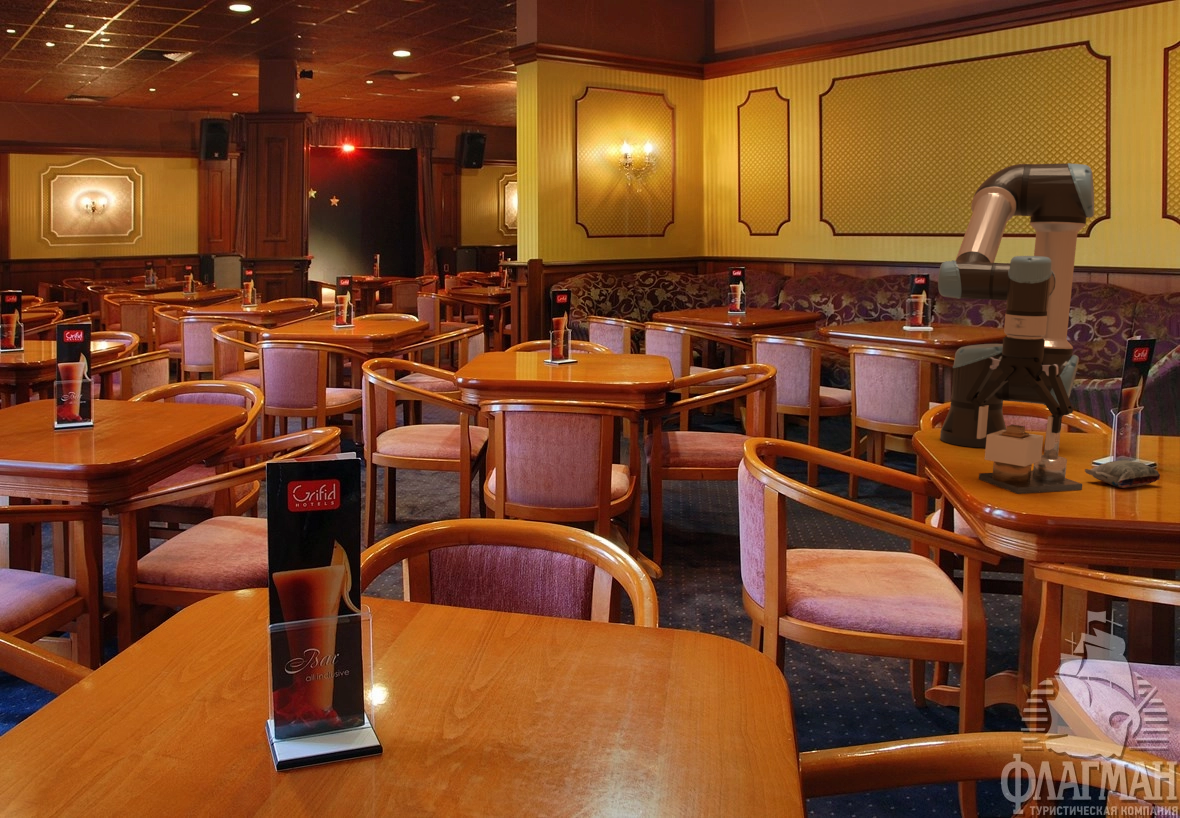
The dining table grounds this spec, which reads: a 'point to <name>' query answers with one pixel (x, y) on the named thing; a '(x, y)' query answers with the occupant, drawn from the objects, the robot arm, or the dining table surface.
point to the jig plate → (1033, 484)
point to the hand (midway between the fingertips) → (1014, 443)
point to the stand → (1051, 464)
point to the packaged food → (1124, 473)
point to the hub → (1010, 471)
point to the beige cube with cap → (1013, 449)
